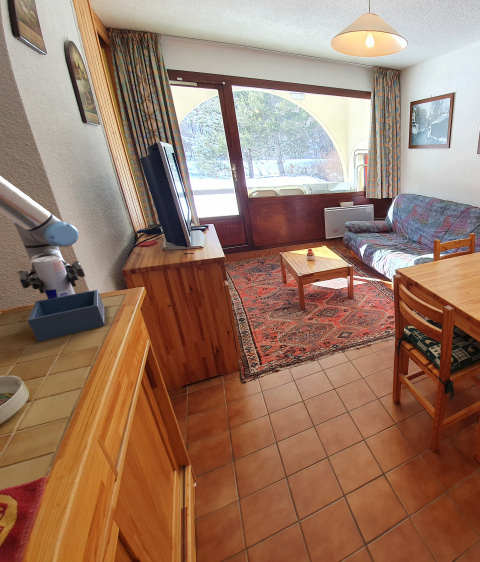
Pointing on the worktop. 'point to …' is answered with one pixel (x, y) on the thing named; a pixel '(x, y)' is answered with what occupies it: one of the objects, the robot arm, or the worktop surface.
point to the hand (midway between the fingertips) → (57, 285)
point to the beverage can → (53, 276)
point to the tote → (67, 315)
